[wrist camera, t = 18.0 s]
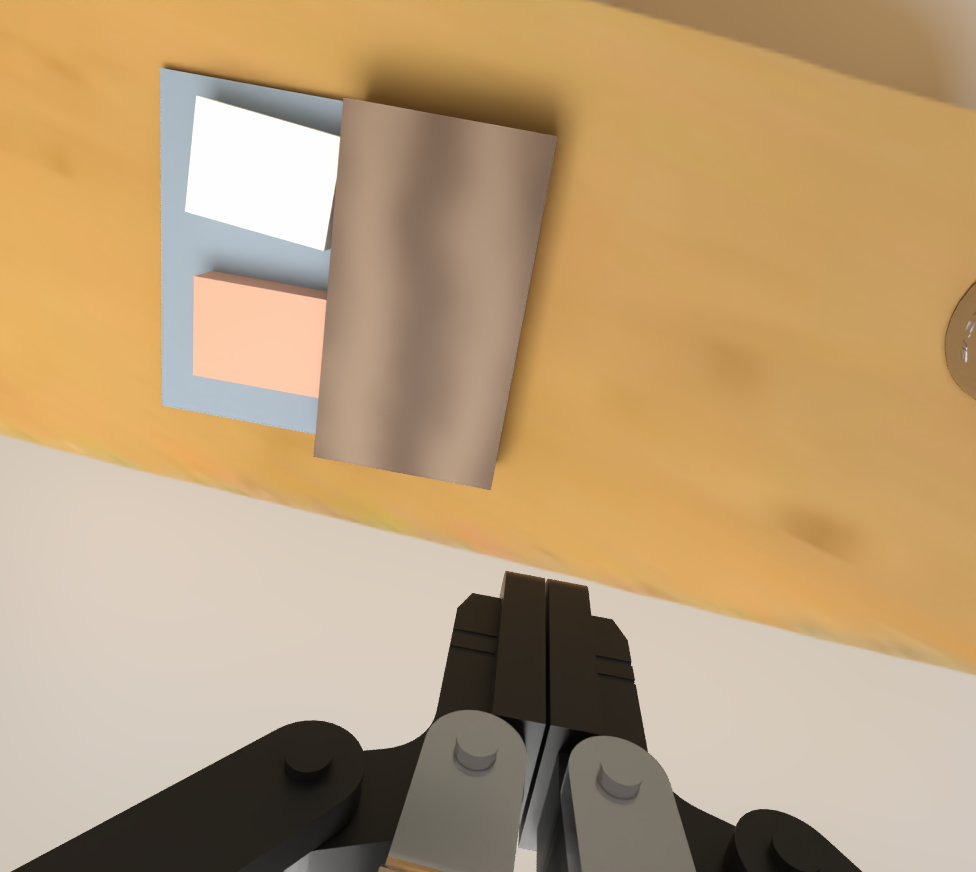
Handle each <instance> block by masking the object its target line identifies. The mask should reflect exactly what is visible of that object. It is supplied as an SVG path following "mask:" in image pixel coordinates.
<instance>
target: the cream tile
mask: <svg viewBox="0 0 976 872" xmlns="http://www.w3.org/2000/svg"><path fill="white" fill-rule="evenodd" d="M339 145H340V136H338V135H334V134H331V133H328V132H324V131H321V130H317V129H314V128H310V127H307V126H303V125H300V124H296V123H293V122H289V121H286V120H282V119H279V118H275V117H272V116H269V115H265V114H262V113H258V112H255V111H251V110H248V109H244V108H241V107H237V106H234V105H230V104H227V103H223V102H220V101H216V100H212V99H208V98H204V97H200V96H196V103H195V113H194V124H193V134H192V144H191V155H190V165H189V175H188V186H187V196H186V206H185V212H189V213H192V214H196V215H199V216H203V217H206V218H210V219H213V220H217V221H220V222H224V223H227V224H231V225H234V226H238V227H241V228H245V229H248V230H252V231H255V232H259V233H262V234H266V235H269V236H273V237H277V238H280V239H284V240H287V241H291V242H294V243H298V244H301V245H305V246H308V247H312V248H315V249H319V250H322V251H325V250H329V249H331V241H332V229H333V217H334V205H335V193H336V181H337V169H338V157H339Z"/></svg>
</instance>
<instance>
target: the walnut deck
mask: <svg viewBox="0 0 976 872" xmlns="http://www.w3.org/2000/svg"><path fill="white" fill-rule="evenodd" d="M557 139H558V136H554V135H548V134H543V133H537V132H532V131H526V130H521V129H515V128H510V127H504V126H499V125H493V124H488V123H482V122H477V121H471V120H466V119H460V118H455V117H449V116H444V115H438V114H433V113H427V112H422V111H416V110H411V109H405V108H400V107H394V106H389V105H383V104H378V103H373V102H367V101H362V100H356V99H351V98H345V97H343V109H342V121H341V133H340V145H339V157H338V169H337V181H336V193H335V205H334V217H333V229H332V241H331V253H330V265H329V277H328V289H327V301H326V313H325V325H324V337H323V349H322V362H321V374H320V386H319V398H318V410H317V422H316V434H315V446H314V457H318V458H323V459H329V460H334V461H339V462H345V463H350V464H355V465H360V466H366V467H371V468H376V469H382V470H387V471H392V472H398V473H403V474H408V475H414V476H419V477H424V478H429V479H435V480H440V481H445V482H451V483H456V484H461V485H467V486H472V487H477V488H483V489H488V490H491V486H492V480H493V475H494V470H495V465H496V459H497V454H498V449H499V444H500V438H501V433H502V428H503V423H504V417H505V412H506V407H507V402H508V396H509V391H510V386H511V381H512V375H513V370H514V365H515V360H516V354H517V349H518V344H519V338H520V333H521V328H522V323H523V317H524V312H525V307H526V302H527V296H528V291H529V286H530V281H531V275H532V270H533V265H534V260H535V254H536V249H537V244H538V239H539V233H540V228H541V223H542V218H543V212H544V207H545V202H546V197H547V191H548V186H549V181H550V176H551V170H552V165H553V160H554V155H555V149H556V144H557Z"/></svg>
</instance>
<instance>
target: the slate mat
mask: <svg viewBox="0 0 976 872" xmlns="http://www.w3.org/2000/svg"><path fill="white" fill-rule="evenodd" d="M196 96H200V97H204V98H208V99H212V100H216V101H220V102H223V103H227V104H230V105H234V106H237V107H241V108H244V109H248V110H251V111H255V112H258V113H262V114H265V115H269V116H272V117H275V118H279V119H282V120H286V121H289V122H293V123H296V124H300V125H303V126H307V127H310V128H314V129H317V130H321V131H324V132H328V133H331V134H334V135H338V136H340V133H341V121H342V109H343V101H340V100H334V99H329V98H323V97H318V96H312V95H307V94H301V93H296V92H290V91H285V90H279V89H274V88H269V87H263V86H258V85H252V84H247V83H241V82H236V81H230V80H225V79H219V78H214V77H208V76H203V75H197V74H192V73H186V72H181V71H175V70H170V69H164V68H160V129H161V313H162V406H168V407H173V408H178V409H184V410H189V411H194V412H200V413H205V414H210V415H216V416H221V417H226V418H232V419H237V420H242V421H247V422H253V423H258V424H263V425H269V426H274V427H279V428H285V429H290V430H295V431H301V432H306V433H311V434H316V422H317V410H318V398H316V397H310V396H305V395H299V394H294V393H288V392H283V391H277V390H272V389H266V388H261V387H255V386H250V385H244V384H239V383H233V382H228V381H222V380H217V379H212V378H206V377H201V376H195V375H193V305H194V276H196V275H199V274H203V273H207V272H210V271H216V272H222V273H227V274H233V275H238V276H244V277H250V278H255V279H261V280H266V281H272V282H277V283H283V284H288V285H294V286H299V287H305V288H310V289H316V290H322V291H327V289H328V277H329V265H330V253H331V249H329V250H325V251H322V250H319V249H315V248H312V247H308V246H305V245H301V244H298V243H294V242H291V241H287V240H284V239H280V238H277V237H273V236H269V235H266V234H262V233H259V232H255V231H252V230H248V229H245V228H241V227H238V226H234V225H231V224H227V223H224V222H220V221H217V220H213V219H210V218H206V217H203V216H199V215H196V214H192V213H189V212H185V206H186V196H187V186H188V175H189V165H190V155H191V144H192V134H193V124H194V113H195V103H196Z"/></svg>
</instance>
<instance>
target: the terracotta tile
mask: <svg viewBox="0 0 976 872" xmlns="http://www.w3.org/2000/svg"><path fill="white" fill-rule="evenodd" d="M326 301H327V291H322V290H316V289H310V288H305V287H299V286H294V285H288V284H283V283H277V282H272V281H266V280H261V279H255V278H250V277H244V276H238V275H233V274H227V273H222V272H216V271H210V272H207V273H203V274H199V275H196V276H194V305H193V375H195V376H201V377H206V378H212V379H217V380H222V381H228V382H233V383H239V384H244V385H250V386H255V387H261V388H266V389H272V390H277V391H283V392H288V393H294V394H299V395H305V396H310V397H316V398H319V386H320V374H321V362H322V349H323V337H324V325H325V313H326Z"/></svg>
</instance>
